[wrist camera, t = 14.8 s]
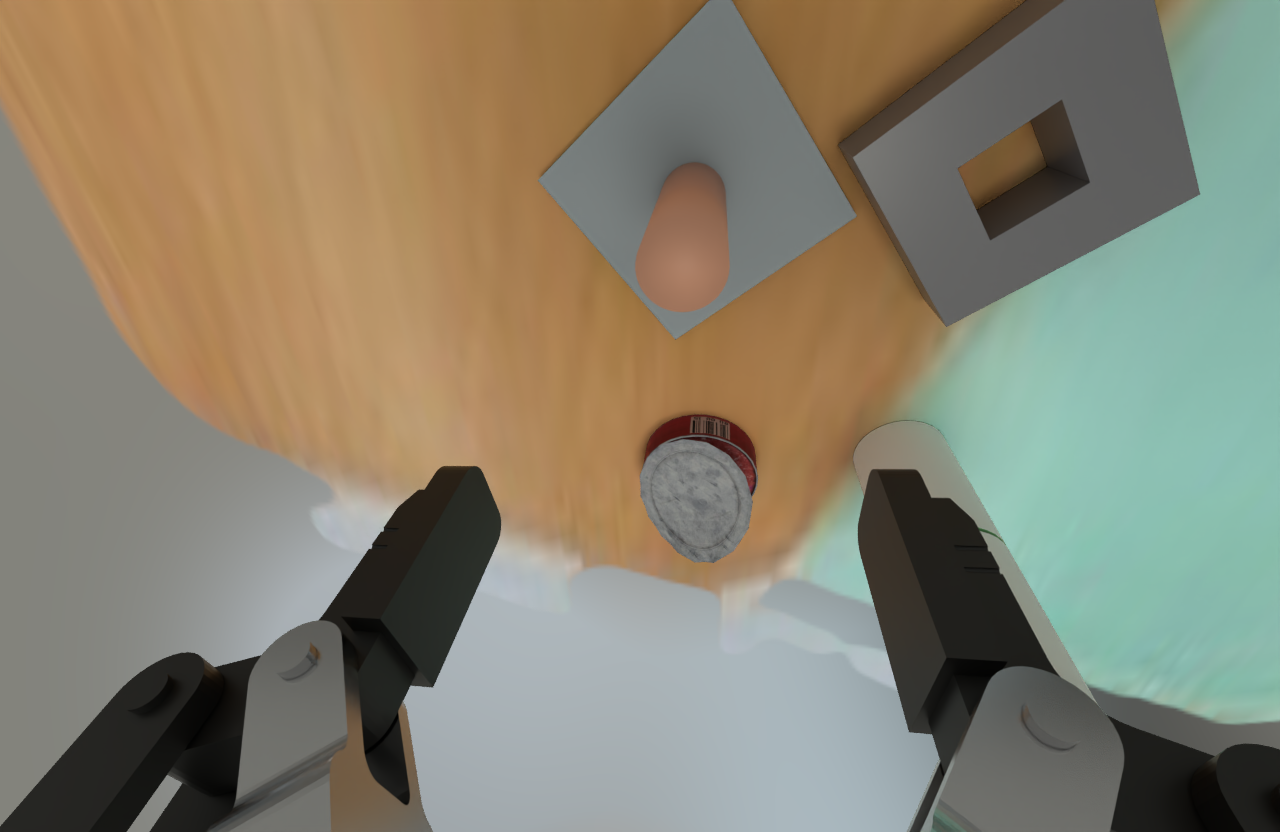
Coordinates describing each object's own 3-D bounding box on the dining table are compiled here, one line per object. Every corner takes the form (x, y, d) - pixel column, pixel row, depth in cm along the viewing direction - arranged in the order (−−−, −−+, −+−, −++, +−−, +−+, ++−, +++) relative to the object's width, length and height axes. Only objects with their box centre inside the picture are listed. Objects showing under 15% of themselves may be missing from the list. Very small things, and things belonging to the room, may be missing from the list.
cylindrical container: (858, 421, 40) (998, 798, 20) (955, 419, 38) (1209, 818, 19) (848, 485, 44) (955, 847, 24) (935, 484, 43) (1124, 867, 23)
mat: (722, -13, 25) (723, -15, 24) (854, 212, 30) (856, 216, 30) (541, 177, 31) (537, 180, 31) (676, 334, 37) (675, 339, 36)
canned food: (674, 459, 51) (618, 529, 45) (669, 383, 44) (602, 455, 38) (778, 503, 46) (729, 589, 40) (791, 426, 39) (733, 516, 33)
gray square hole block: (1082, -43, 23) (1140, -57, 20) (1144, 176, 27) (1199, 194, 24) (837, 144, 28) (852, 157, 25) (924, 299, 33) (946, 327, 30)
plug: (700, 146, 29) (690, 198, 19) (738, 203, 30) (748, 276, 21) (647, 193, 30) (616, 260, 21) (686, 243, 32) (673, 328, 23)
